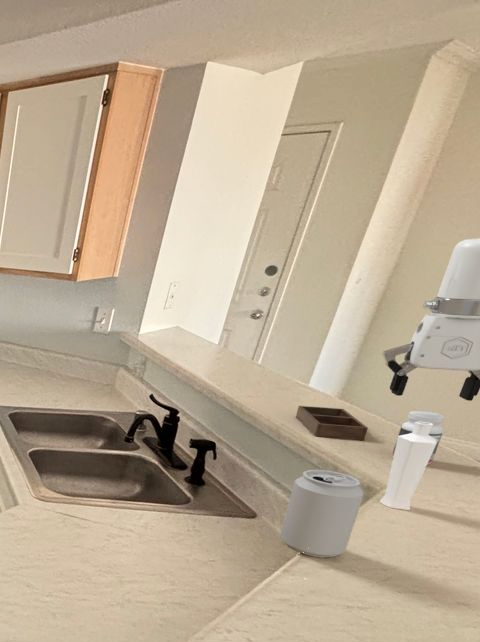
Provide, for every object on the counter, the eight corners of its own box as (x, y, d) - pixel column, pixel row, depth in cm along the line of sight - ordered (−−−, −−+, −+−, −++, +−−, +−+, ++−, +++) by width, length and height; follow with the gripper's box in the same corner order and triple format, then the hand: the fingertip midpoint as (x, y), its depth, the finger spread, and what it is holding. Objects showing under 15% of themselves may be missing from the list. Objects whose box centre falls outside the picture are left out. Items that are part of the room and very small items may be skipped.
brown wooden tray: (339, 420, 144) (343, 408, 143) (364, 440, 131) (368, 427, 130) (295, 417, 148) (298, 405, 147) (314, 436, 135) (318, 423, 134)
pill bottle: (391, 453, 123) (406, 408, 120) (431, 460, 119) (448, 413, 116) (390, 461, 119) (405, 414, 116) (431, 468, 115) (448, 420, 112)
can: (267, 535, 94) (286, 466, 90) (322, 537, 93) (343, 467, 89) (297, 558, 87) (319, 485, 83) (356, 562, 86) (381, 487, 82)
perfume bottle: (423, 511, 99) (454, 427, 94) (393, 510, 100) (422, 427, 95) (400, 499, 103) (429, 419, 98) (371, 499, 104) (398, 419, 99)
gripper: (407, 309, 110) (377, 396, 116) (544, 312, 102) (505, 406, 108) (391, 304, 116) (363, 387, 122) (519, 306, 108) (483, 396, 114)
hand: (430, 396), depth 115 cm, fingers open, 9 cm apart
